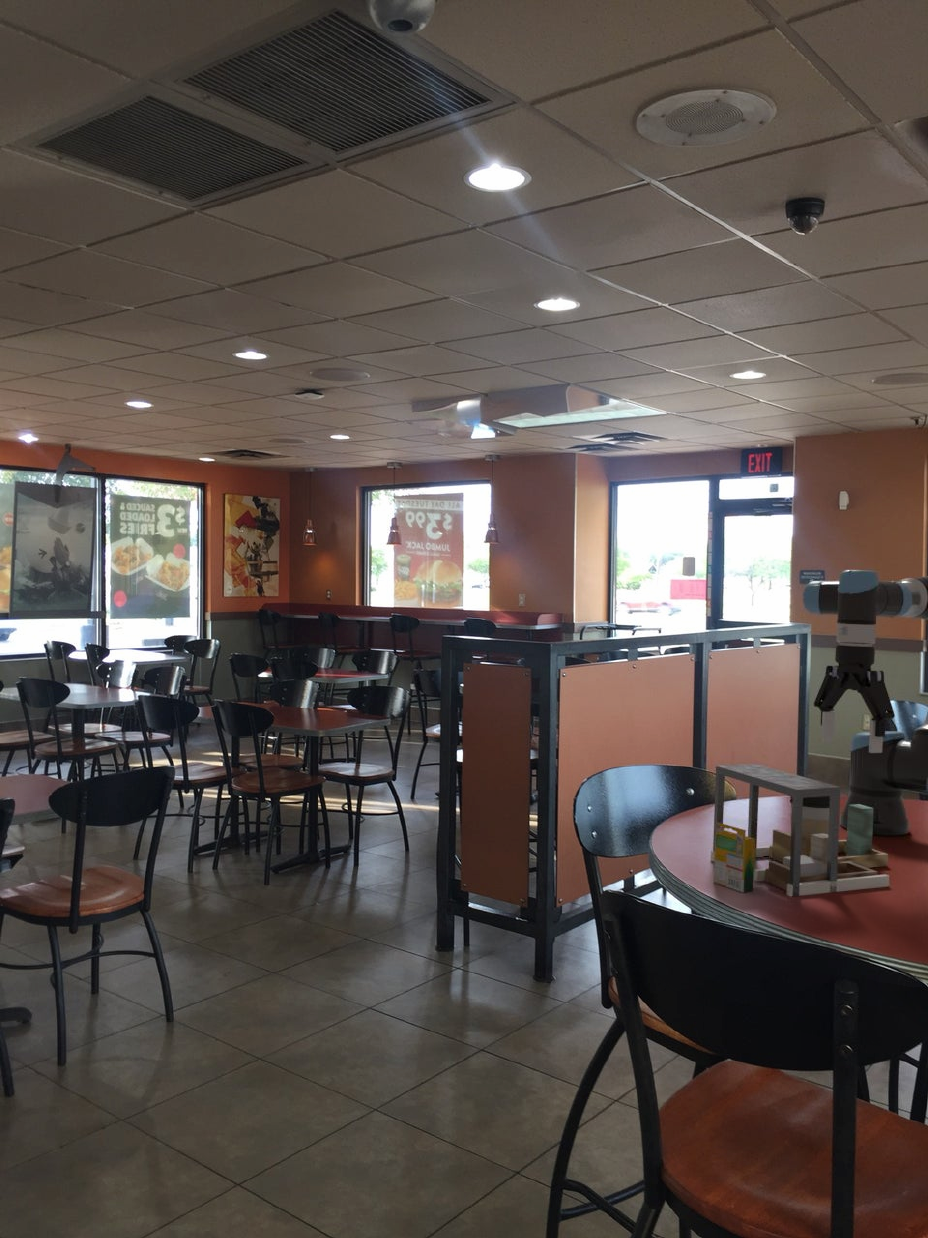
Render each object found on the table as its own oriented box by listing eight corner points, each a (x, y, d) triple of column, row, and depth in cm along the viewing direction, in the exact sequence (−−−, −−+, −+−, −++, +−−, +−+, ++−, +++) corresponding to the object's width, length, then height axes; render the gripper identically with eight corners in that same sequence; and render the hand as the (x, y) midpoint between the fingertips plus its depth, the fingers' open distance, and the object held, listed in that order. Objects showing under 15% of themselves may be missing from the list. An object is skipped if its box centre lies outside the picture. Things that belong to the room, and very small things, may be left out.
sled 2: (848, 873, 195) (850, 828, 194) (877, 884, 188) (879, 837, 187) (765, 881, 188) (766, 834, 187) (791, 893, 180) (793, 844, 180)
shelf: (753, 856, 205) (756, 763, 205) (836, 891, 182) (840, 787, 182) (712, 860, 202) (716, 765, 201) (792, 896, 179) (796, 789, 178)
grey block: (803, 880, 189) (804, 855, 189) (821, 888, 184) (822, 862, 184) (782, 883, 187) (783, 857, 187) (800, 890, 183) (801, 864, 183)
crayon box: (754, 891, 181) (756, 828, 181) (743, 893, 180) (745, 830, 179) (723, 880, 188) (726, 820, 187) (712, 882, 186) (715, 821, 186)
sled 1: (845, 850, 212) (847, 800, 212) (887, 866, 201) (889, 812, 200) (769, 857, 205) (771, 804, 204) (808, 873, 194) (810, 818, 193)
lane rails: (801, 852, 210) (801, 843, 210) (888, 886, 187) (889, 875, 187) (710, 860, 201) (710, 850, 201) (790, 896, 179) (790, 885, 178)
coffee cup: (837, 872, 196) (840, 797, 195) (789, 867, 198) (792, 793, 197) (830, 860, 204) (833, 788, 204) (785, 856, 206) (788, 785, 206)
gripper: (799, 641, 213) (795, 738, 214) (887, 648, 190) (882, 757, 191) (827, 641, 216) (822, 737, 217) (917, 649, 193) (912, 756, 193)
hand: (850, 747), depth 204 cm, fingers open, 13 cm apart
